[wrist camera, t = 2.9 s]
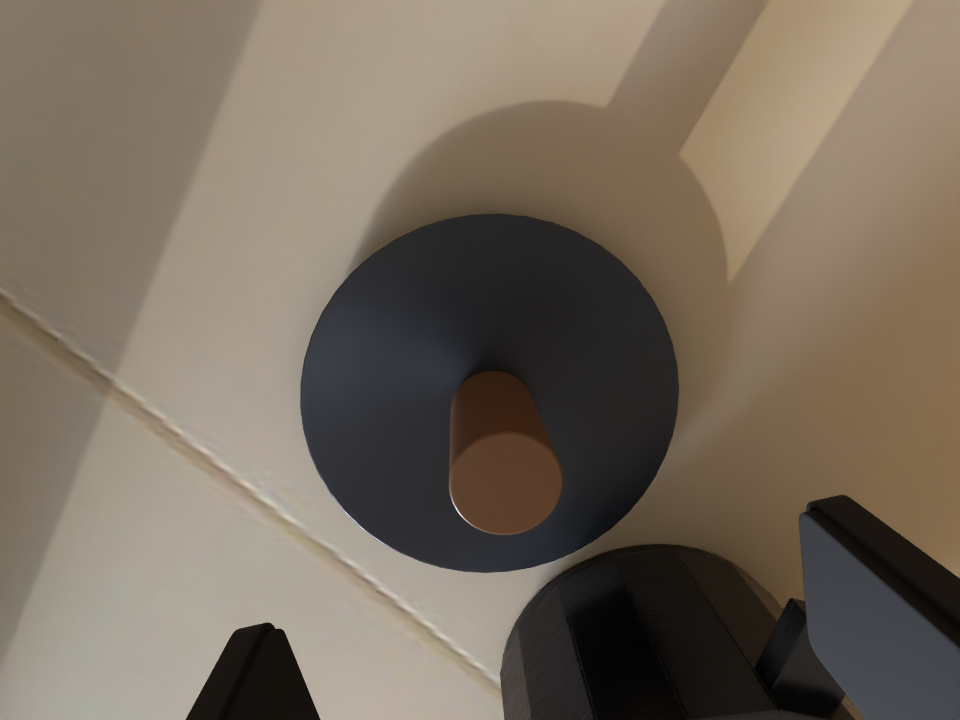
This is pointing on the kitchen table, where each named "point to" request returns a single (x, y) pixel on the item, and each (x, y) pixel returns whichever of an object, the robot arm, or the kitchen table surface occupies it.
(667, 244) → the kitchen table surface
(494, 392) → the lid
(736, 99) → the kitchen table surface
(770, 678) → the pot
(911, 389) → the kitchen table surface
